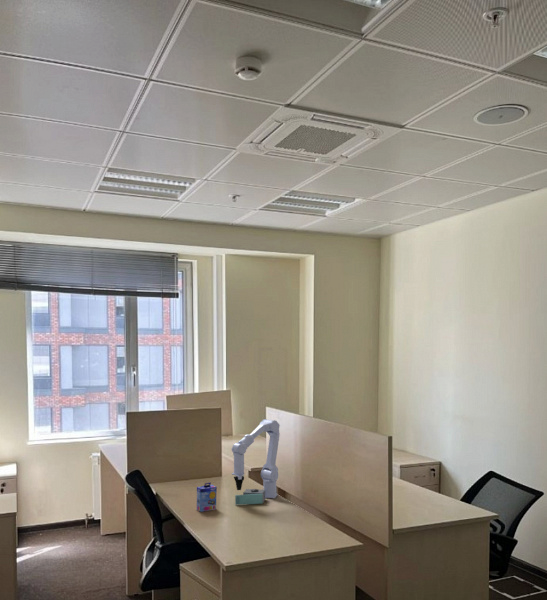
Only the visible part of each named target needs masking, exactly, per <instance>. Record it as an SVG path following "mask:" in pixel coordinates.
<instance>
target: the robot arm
mask: <svg viewBox="0 0 547 600" xmlns="http://www.w3.org/2000/svg"><path fill="white" fill-rule="evenodd" d="M280 426H281V425H280V423H279V422H278V421H277V420H276V419H275V420H273V419H267V418H264V419H262V420H261V421H260V422H259V425H257V426H256V428H255V429H254V430H252V432H251V433H250V434H245V435H244V436H243V437H242V438H241V439H240V440H239V441H238V442H235V443H234V444H233V445H232V447H231V452H232V453H233V454H232V456H233V472H232V473H231V475H232V476H233V479H234V481H235V486H236V490H237V491H241V490H242V487H243V483H244V480H245V477H244V476H245V454H246V452H247V449H248V448H249V447H250V446H251V445H253V443H254V442H255V439H256V438H257V437H258V436H260V435H261V434H262V433H264V432H266V433H267V434H268V435H269V439H268V440H269V441H268V448H267V449H268V450H267V454H266V463H265V464H264V465H262V469H261V471H260V478H261V479H262V481H263V482H262V483H263V487H262V488H263V489H262V490H265V499H276V498H277V496H278V495H279V493H277V480H278V479H279V468H278V466H277V463H276V462H277V456H278V448H279V441H280V436H281V434H280Z"/></svg>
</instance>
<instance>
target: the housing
mask: <svg viewBox="0 0 547 600" xmlns="http://www.w3.org/2000/svg"><path fill="white" fill-rule="evenodd" d="M250 494H264V502H265V501H266V498H265V490H263V489H258V488H246V489H245V490H244V491H243V493H242V495H250Z"/></svg>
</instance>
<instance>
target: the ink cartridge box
mask: <svg viewBox="0 0 547 600" xmlns="http://www.w3.org/2000/svg"><path fill="white" fill-rule="evenodd" d="M217 488H218V487H217V486H216V485H214V484H212V482H205V483H204V485H201V486H197V487H196V510H197V511H198V512H202V513H203V512H208V511H213V510H217Z"/></svg>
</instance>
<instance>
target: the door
mask: <svg viewBox="0 0 547 600" xmlns="http://www.w3.org/2000/svg"><path fill="white" fill-rule="evenodd" d="M234 497H235V499H234V500H235V506H237V505H239V506H241V505H257V504H258V505H259V504H264V502H265V501H264V494H250V495H243V494H235V496H234Z"/></svg>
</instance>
